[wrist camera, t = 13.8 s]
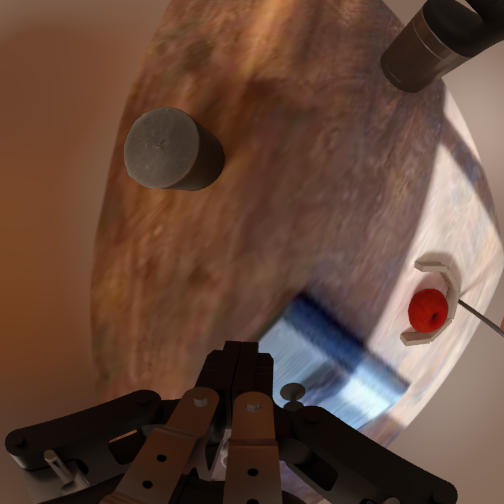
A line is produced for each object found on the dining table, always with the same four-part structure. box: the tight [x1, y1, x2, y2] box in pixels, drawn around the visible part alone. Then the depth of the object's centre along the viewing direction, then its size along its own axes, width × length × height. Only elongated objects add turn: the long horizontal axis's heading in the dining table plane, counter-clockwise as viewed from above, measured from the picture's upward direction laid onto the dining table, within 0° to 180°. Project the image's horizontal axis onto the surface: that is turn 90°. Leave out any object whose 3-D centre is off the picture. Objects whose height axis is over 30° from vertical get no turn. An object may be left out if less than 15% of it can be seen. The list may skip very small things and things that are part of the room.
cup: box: [400, 262, 504, 346], centre depth 33 cm, size 13×15×18 cm
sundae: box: [280, 383, 305, 412], centre depth 41 cm, size 7×7×15 cm
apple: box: [408, 289, 449, 333], centre depth 39 cm, size 8×8×7 cm
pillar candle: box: [124, 107, 225, 191], centre depth 33 cm, size 10×10×15 cm
